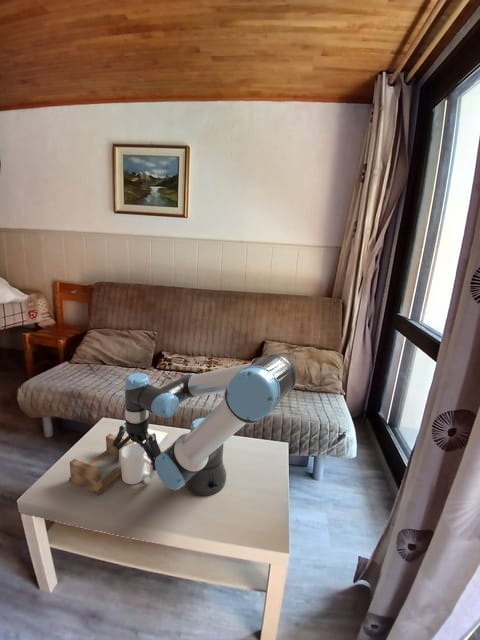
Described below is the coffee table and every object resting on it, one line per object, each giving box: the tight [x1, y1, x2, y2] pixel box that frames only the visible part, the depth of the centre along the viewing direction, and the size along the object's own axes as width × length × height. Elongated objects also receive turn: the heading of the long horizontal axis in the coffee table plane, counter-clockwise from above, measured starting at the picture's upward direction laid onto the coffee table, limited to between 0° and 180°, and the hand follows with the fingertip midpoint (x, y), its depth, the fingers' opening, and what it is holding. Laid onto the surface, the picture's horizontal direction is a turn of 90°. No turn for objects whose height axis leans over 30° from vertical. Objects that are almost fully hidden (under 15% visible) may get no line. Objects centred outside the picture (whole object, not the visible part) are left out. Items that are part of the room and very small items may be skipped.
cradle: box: [68, 433, 134, 496], centre depth 112 cm, size 14×18×8 cm
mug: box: [121, 443, 151, 485], centre depth 110 cm, size 9×12×11 cm
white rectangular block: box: [134, 428, 169, 459], centre depth 128 cm, size 10×14×3 cm
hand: (137, 469), depth 110 cm, fingers open, 13 cm apart
